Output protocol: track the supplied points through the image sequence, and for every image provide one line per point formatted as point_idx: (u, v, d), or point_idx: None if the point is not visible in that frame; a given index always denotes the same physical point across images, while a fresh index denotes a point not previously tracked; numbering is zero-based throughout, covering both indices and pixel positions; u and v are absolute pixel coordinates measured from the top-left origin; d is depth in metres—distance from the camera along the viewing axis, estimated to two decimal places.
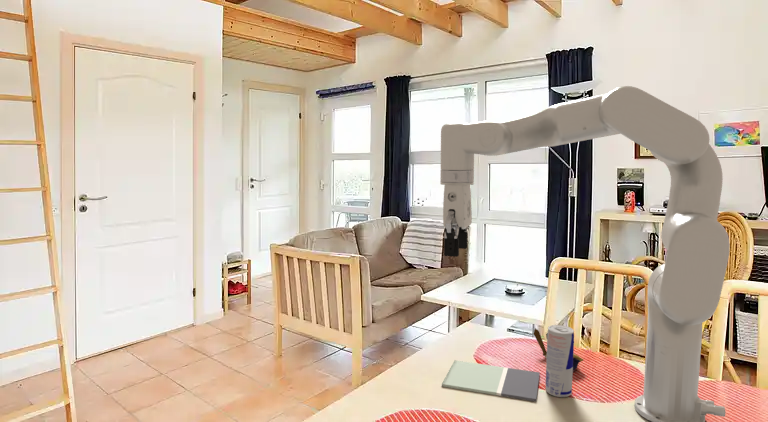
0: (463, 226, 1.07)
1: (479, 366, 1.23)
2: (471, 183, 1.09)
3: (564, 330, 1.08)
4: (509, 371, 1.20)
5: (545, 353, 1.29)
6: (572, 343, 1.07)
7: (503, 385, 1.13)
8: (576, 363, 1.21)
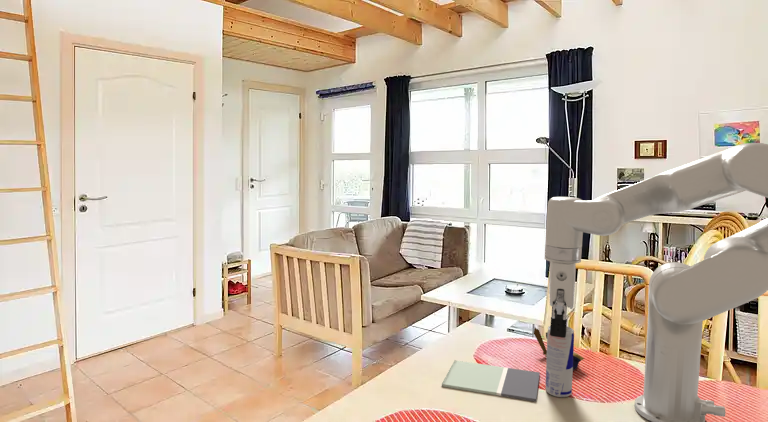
0: (572, 307, 1.03)
1: (479, 366, 1.23)
2: (579, 261, 1.05)
3: None
4: (509, 371, 1.20)
5: (545, 352, 1.30)
6: (572, 343, 1.07)
7: (503, 385, 1.13)
8: (577, 362, 1.22)
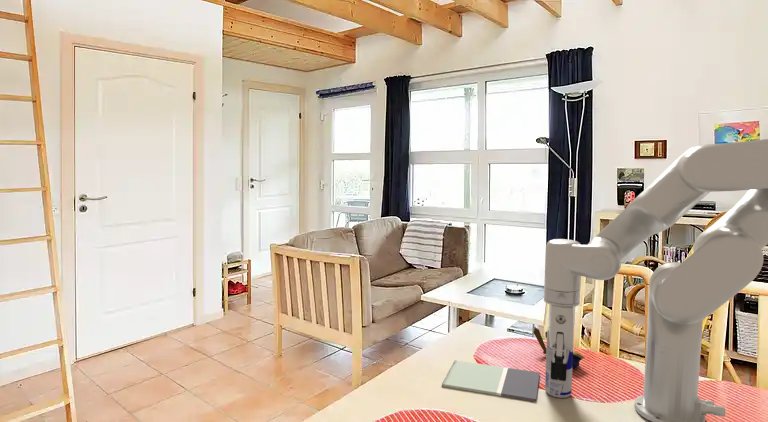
0: (572, 350, 1.04)
1: (479, 366, 1.23)
2: (578, 303, 1.06)
3: None
4: (509, 371, 1.20)
5: (545, 351, 1.30)
6: None
7: (503, 385, 1.13)
8: (578, 361, 1.23)
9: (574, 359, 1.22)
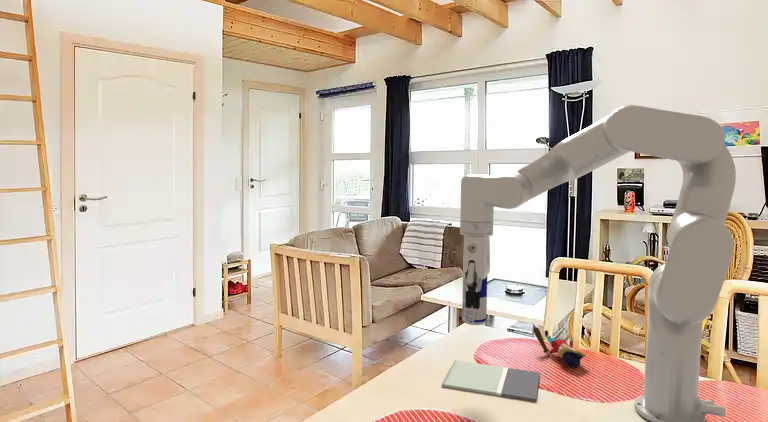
0: (483, 277, 1.09)
1: (479, 366, 1.23)
2: (491, 234, 1.11)
3: None
4: (509, 371, 1.20)
5: (546, 350, 1.31)
6: None
7: (503, 385, 1.13)
8: (579, 359, 1.24)
9: (575, 357, 1.23)
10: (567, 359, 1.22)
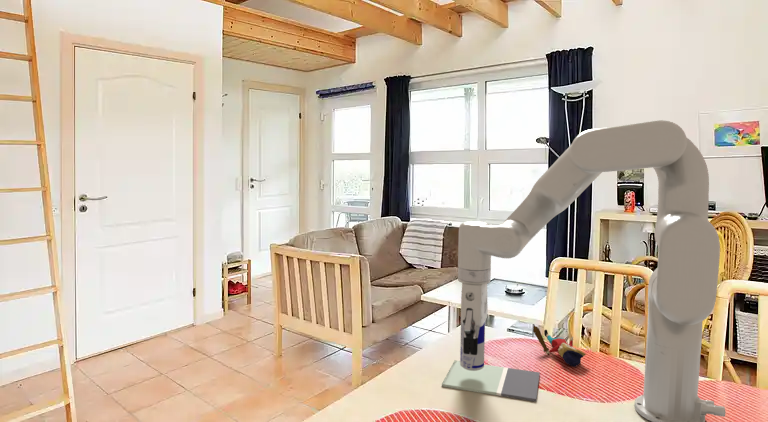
0: (480, 325, 1.10)
1: None
2: (488, 281, 1.12)
3: None
4: (509, 371, 1.20)
5: (546, 349, 1.32)
6: None
7: (503, 385, 1.13)
8: (579, 358, 1.24)
9: (576, 356, 1.24)
10: (568, 358, 1.23)
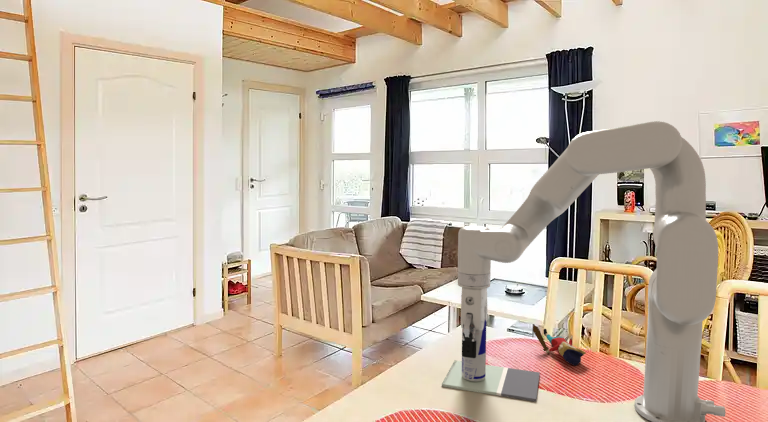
0: (480, 329, 1.10)
1: None
2: (488, 286, 1.12)
3: None
4: (509, 371, 1.20)
5: (546, 348, 1.32)
6: (484, 330, 1.14)
7: (503, 385, 1.13)
8: (579, 356, 1.25)
9: (576, 355, 1.25)
10: (569, 357, 1.24)
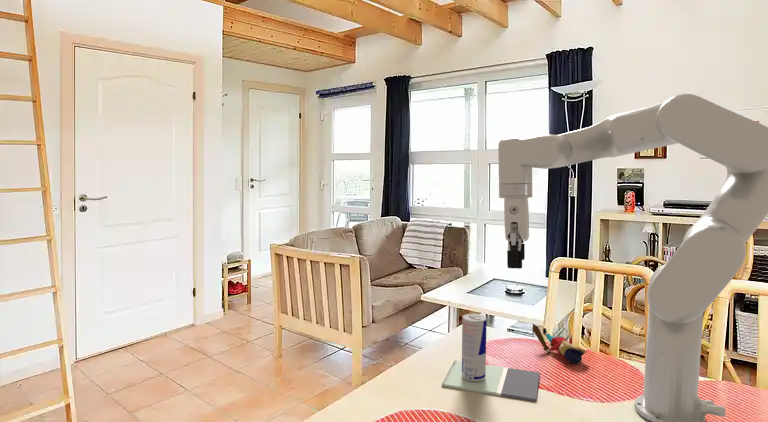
0: (526, 238, 1.09)
1: None
2: (531, 196, 1.11)
3: (477, 318, 1.14)
4: (509, 371, 1.20)
5: (546, 348, 1.33)
6: (484, 330, 1.13)
7: (503, 385, 1.13)
8: (580, 355, 1.26)
9: (577, 354, 1.25)
10: (570, 356, 1.24)
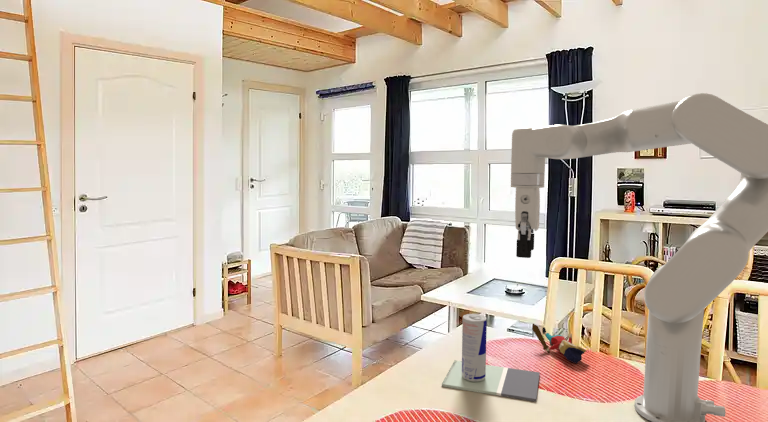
0: (536, 228, 1.10)
1: None
2: (542, 186, 1.12)
3: (477, 318, 1.14)
4: (509, 371, 1.20)
5: (546, 347, 1.33)
6: (484, 330, 1.13)
7: (503, 385, 1.13)
8: (580, 354, 1.26)
9: (577, 353, 1.26)
10: (570, 355, 1.25)
